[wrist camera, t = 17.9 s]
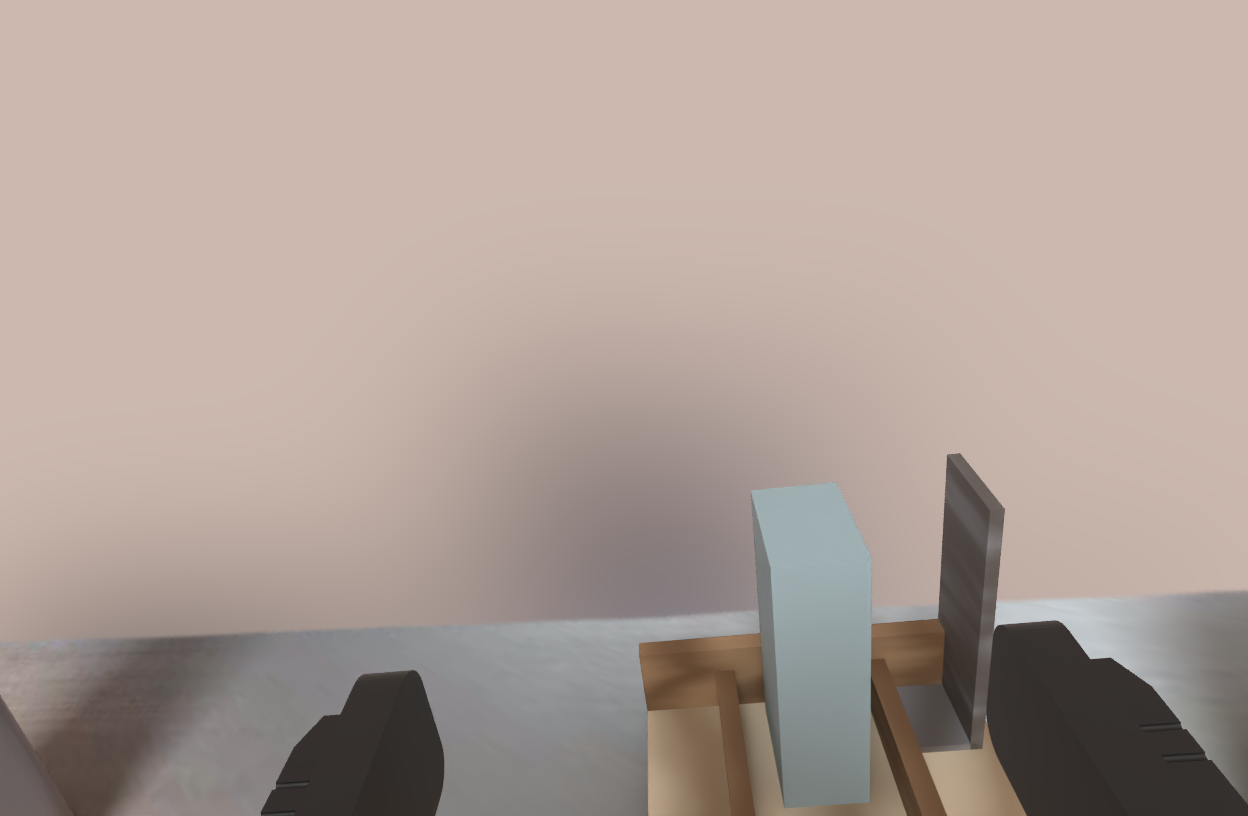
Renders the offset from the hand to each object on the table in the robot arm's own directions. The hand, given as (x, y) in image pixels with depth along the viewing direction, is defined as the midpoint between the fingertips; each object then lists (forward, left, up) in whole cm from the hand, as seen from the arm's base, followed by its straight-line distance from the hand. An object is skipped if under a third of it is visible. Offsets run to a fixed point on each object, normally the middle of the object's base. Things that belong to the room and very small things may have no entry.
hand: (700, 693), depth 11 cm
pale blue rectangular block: (+5, +20, -25) cm, 32 cm away
